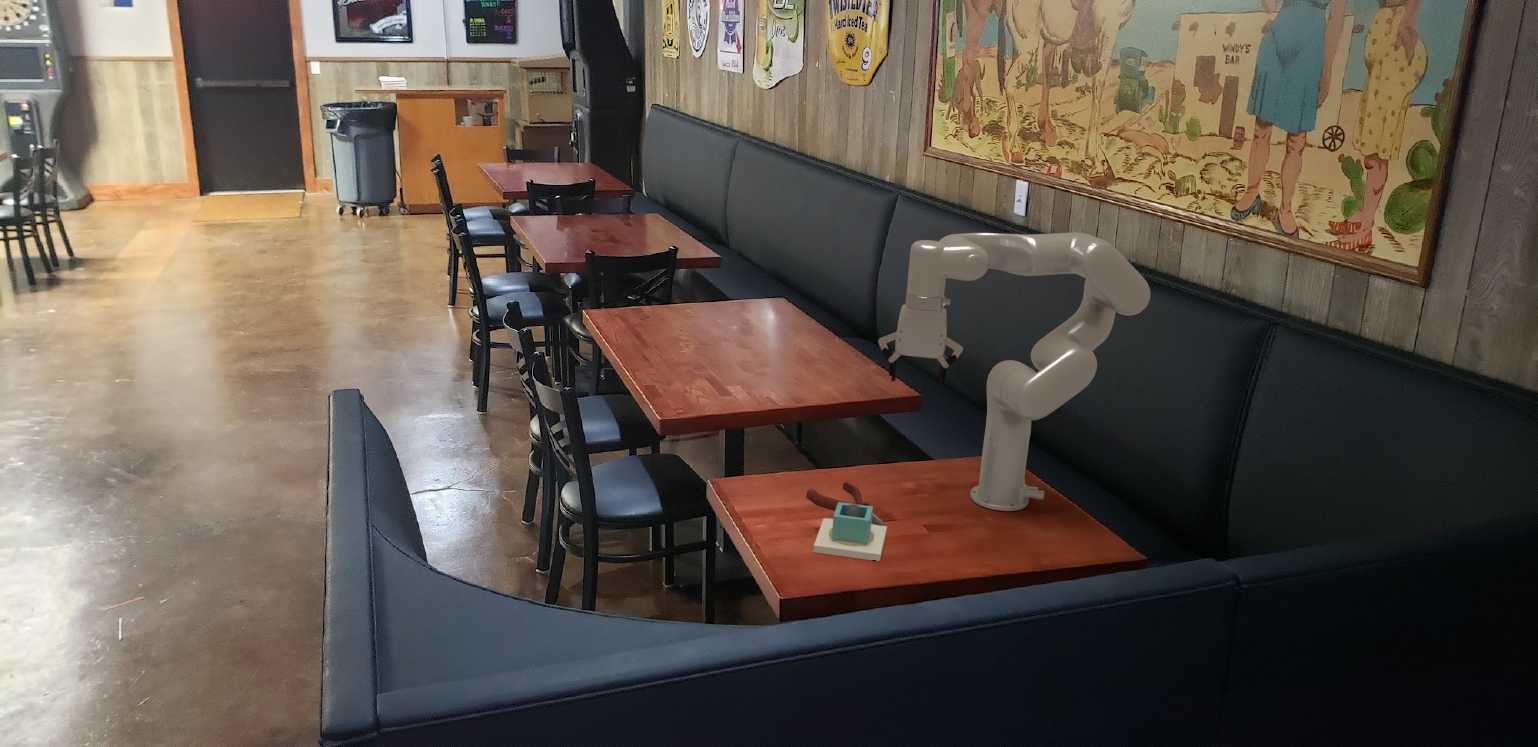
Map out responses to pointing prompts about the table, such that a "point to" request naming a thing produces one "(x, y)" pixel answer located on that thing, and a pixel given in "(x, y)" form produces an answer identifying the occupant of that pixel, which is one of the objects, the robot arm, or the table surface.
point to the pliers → (833, 503)
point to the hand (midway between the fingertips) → (916, 381)
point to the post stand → (850, 549)
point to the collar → (852, 524)
